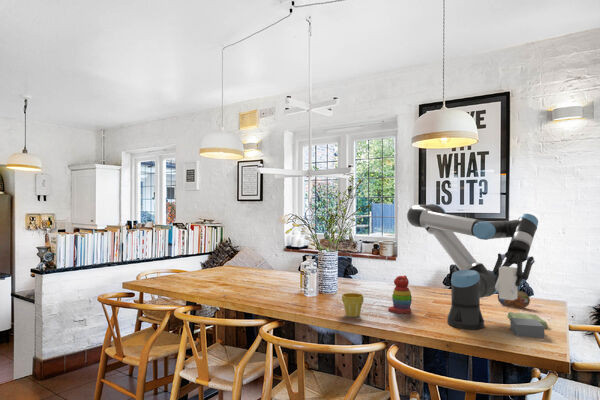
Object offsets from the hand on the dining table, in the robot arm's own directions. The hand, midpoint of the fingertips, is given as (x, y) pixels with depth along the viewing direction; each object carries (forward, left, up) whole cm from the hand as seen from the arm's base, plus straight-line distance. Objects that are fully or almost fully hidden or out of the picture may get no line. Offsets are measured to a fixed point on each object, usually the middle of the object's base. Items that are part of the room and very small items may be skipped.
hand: (504, 290), depth 153 cm
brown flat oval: (+31, +58, -20) cm, 68 cm away
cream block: (+3, +3, -3) cm, 5 cm away
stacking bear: (-30, +45, -20) cm, 58 cm away
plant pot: (-55, +36, -20) cm, 69 cm away
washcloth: (+23, +29, -21) cm, 42 cm away
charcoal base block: (+15, +13, -20) cm, 28 cm away
